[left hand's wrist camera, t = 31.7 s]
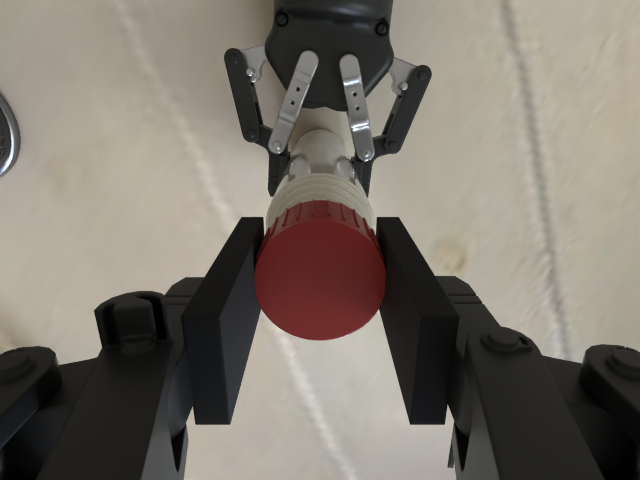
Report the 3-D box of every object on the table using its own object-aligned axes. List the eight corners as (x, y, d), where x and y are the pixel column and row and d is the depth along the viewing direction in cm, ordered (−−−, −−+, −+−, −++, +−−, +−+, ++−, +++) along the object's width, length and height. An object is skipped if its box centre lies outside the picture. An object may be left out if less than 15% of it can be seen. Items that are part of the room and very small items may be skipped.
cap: (387, 294, 15) (399, 328, 13) (278, 315, 15) (271, 353, 13) (367, 186, 13) (376, 204, 11) (247, 212, 14) (233, 235, 12)
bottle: (292, 181, 36) (248, 330, 14) (294, 127, 34) (247, 197, 12) (344, 183, 36) (383, 336, 14) (348, 130, 34) (400, 206, 12)
